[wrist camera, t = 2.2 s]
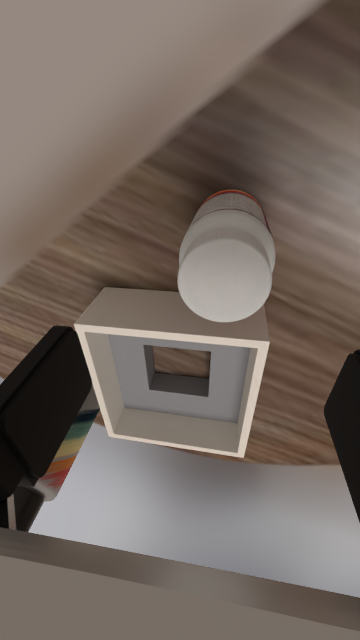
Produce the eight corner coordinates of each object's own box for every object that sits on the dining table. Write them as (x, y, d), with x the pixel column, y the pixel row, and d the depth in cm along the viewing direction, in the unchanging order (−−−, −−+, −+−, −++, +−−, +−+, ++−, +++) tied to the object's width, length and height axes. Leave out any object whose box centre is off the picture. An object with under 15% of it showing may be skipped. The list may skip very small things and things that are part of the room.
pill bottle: (248, 266, 25) (254, 343, 16) (186, 247, 25) (158, 313, 16) (278, 200, 22) (307, 250, 13) (205, 177, 22) (183, 211, 13)
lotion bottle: (83, 391, 42) (-13, 555, 26) (68, 365, 38) (-53, 533, 22) (116, 391, 40) (36, 565, 24) (103, 364, 37) (1, 542, 21)
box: (263, 297, 27) (269, 341, 21) (242, 408, 37) (243, 457, 32) (104, 286, 30) (73, 323, 24) (126, 393, 40) (108, 436, 34)
